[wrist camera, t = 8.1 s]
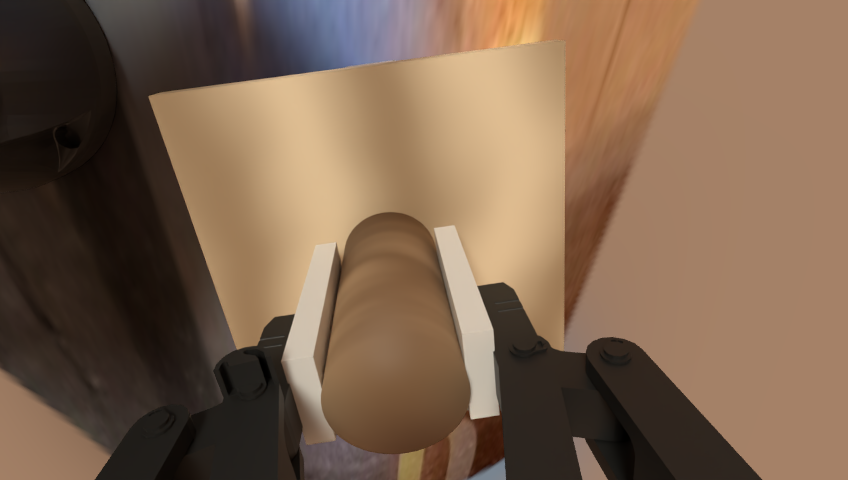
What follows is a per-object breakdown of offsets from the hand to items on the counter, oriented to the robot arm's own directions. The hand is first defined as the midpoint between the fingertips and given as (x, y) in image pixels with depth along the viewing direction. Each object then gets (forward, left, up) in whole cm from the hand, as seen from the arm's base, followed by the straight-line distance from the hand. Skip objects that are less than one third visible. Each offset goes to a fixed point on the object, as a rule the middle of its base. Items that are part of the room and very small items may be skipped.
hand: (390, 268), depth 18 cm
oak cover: (0, 0, -2) cm, 2 cm away
